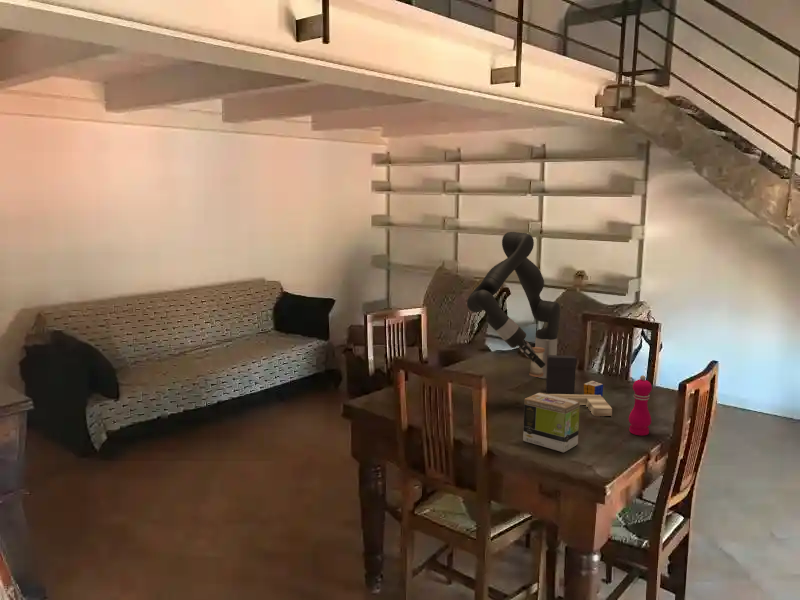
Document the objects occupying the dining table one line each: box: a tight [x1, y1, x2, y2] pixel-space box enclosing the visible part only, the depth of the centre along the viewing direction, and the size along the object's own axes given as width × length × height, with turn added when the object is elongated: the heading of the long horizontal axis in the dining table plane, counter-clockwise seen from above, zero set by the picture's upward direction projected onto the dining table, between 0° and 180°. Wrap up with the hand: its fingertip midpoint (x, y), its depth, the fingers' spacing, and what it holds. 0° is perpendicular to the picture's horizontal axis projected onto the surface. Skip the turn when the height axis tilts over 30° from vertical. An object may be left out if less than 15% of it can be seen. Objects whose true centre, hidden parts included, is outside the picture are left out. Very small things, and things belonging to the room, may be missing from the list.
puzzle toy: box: [583, 380, 604, 397], centre depth 262 cm, size 6×5×6 cm
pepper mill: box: [628, 374, 653, 437], centre depth 223 cm, size 7×7×20 cm
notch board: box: [548, 393, 613, 418], centre depth 247 cm, size 16×20×3 cm
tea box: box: [522, 392, 581, 453], centre depth 213 cm, size 15×10×15 cm
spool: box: [528, 346, 545, 378], centre depth 246 cm, size 5×5×10 cm
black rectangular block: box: [545, 354, 577, 394], centre depth 266 cm, size 11×4×15 cm, turn 84°
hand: (542, 364), depth 246 cm, fingers closed on spool, 4 cm apart
